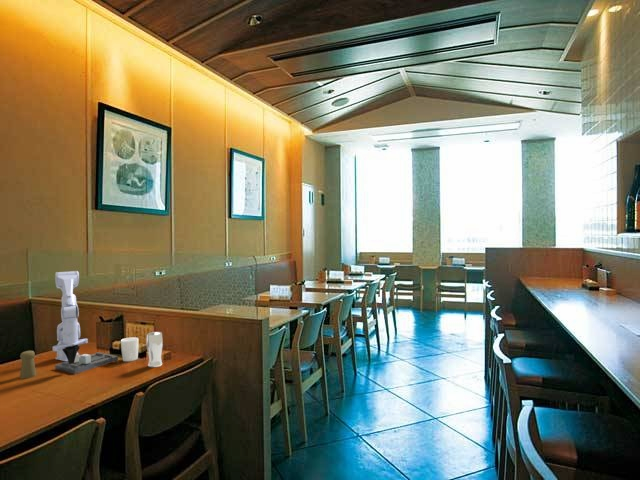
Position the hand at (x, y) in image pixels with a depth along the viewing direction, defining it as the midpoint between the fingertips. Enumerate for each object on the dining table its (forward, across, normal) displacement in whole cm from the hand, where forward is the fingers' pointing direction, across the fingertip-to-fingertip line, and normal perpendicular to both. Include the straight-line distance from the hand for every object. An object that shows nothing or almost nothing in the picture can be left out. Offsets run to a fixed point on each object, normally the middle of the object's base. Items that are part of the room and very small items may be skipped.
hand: (71, 362), depth 180 cm
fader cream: (+2, +5, +7) cm, 9 cm away
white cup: (+4, +24, -8) cm, 25 cm away
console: (+4, +10, +4) cm, 11 cm away
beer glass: (+4, +22, -27) cm, 36 cm away
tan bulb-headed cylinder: (+4, -12, +13) cm, 18 cm away
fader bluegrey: (+2, +6, 0) cm, 7 cm away
